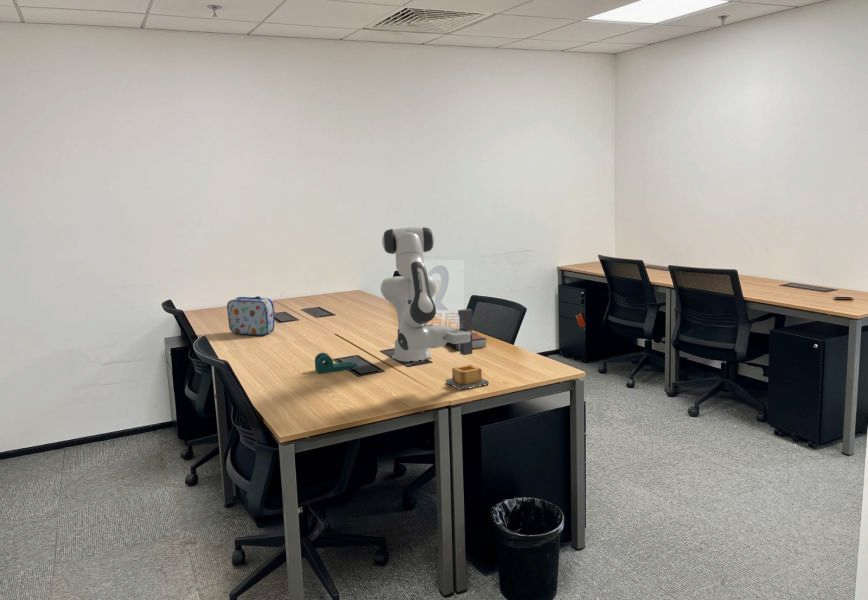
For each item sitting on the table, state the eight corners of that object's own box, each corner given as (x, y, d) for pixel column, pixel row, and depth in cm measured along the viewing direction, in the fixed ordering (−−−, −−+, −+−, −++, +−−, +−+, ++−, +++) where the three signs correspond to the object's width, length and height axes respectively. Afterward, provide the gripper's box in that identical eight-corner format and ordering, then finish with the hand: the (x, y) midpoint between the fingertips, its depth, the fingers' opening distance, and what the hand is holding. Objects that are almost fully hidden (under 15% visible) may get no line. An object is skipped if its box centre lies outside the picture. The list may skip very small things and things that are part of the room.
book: (488, 347, 343) (488, 338, 342) (456, 352, 336) (455, 342, 335) (466, 337, 367) (466, 328, 366) (436, 341, 360) (435, 331, 359)
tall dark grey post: (462, 355, 277) (461, 311, 274) (459, 353, 280) (458, 310, 277) (473, 353, 279) (472, 309, 276) (469, 352, 282) (468, 308, 279)
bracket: (318, 374, 303) (317, 357, 302) (315, 370, 310) (314, 353, 308) (358, 369, 310) (357, 352, 308) (354, 365, 316) (353, 348, 315)
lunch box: (279, 332, 390) (277, 294, 386) (270, 337, 380) (267, 297, 376) (237, 331, 398) (234, 293, 394) (227, 335, 388) (223, 296, 384)
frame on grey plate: (461, 390, 274) (460, 374, 272) (445, 383, 284) (445, 367, 283) (488, 384, 280) (488, 369, 279) (472, 377, 290) (472, 362, 289)
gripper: (450, 333, 262) (481, 328, 269) (425, 324, 280) (454, 319, 287) (451, 349, 263) (481, 344, 270) (425, 339, 281) (455, 334, 288)
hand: (467, 331), depth 278 cm, fingers closed on tall dark grey post, 3 cm apart
